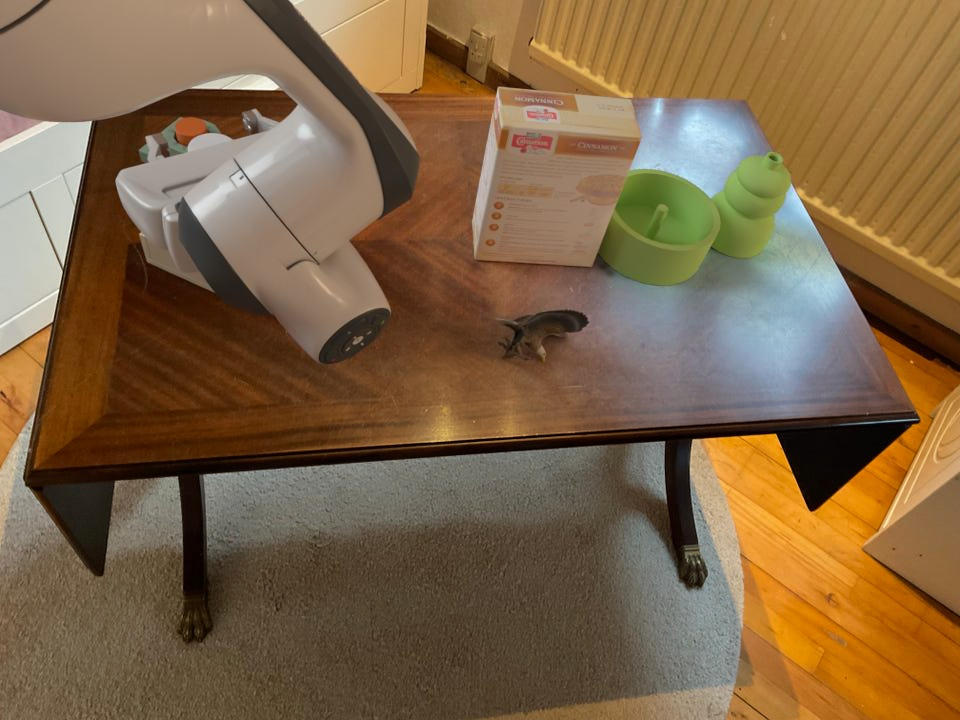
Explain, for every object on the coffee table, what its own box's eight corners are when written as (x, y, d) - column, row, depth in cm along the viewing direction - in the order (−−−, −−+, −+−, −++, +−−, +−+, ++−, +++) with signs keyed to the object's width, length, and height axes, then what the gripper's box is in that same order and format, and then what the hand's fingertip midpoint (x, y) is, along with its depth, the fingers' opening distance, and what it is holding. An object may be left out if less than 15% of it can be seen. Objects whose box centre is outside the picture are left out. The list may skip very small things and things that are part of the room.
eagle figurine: (540, 389, 78) (599, 340, 81) (518, 336, 74) (580, 287, 77) (497, 368, 84) (553, 323, 87) (474, 318, 80) (534, 273, 83)
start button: (170, 140, 89) (168, 128, 87) (189, 125, 91) (187, 113, 90) (196, 151, 88) (194, 139, 87) (214, 136, 91) (212, 124, 89)
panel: (141, 161, 90) (135, 137, 88) (182, 127, 95) (178, 104, 92) (211, 192, 89) (207, 169, 86) (250, 156, 94) (247, 133, 91)
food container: (619, 292, 90) (655, 215, 80) (575, 210, 97) (602, 130, 88) (787, 267, 97) (839, 194, 87) (734, 193, 105) (775, 118, 95)
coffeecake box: (584, 228, 96) (632, 97, 80) (593, 269, 91) (645, 138, 76) (470, 220, 93) (496, 83, 78) (473, 261, 89) (502, 124, 74)
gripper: (370, 157, 68) (299, 75, 74) (148, 226, 59) (86, 126, 65) (368, 209, 73) (301, 128, 79) (162, 279, 64) (103, 182, 70)
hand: (202, 127), depth 72 cm, fingers open, 8 cm apart
